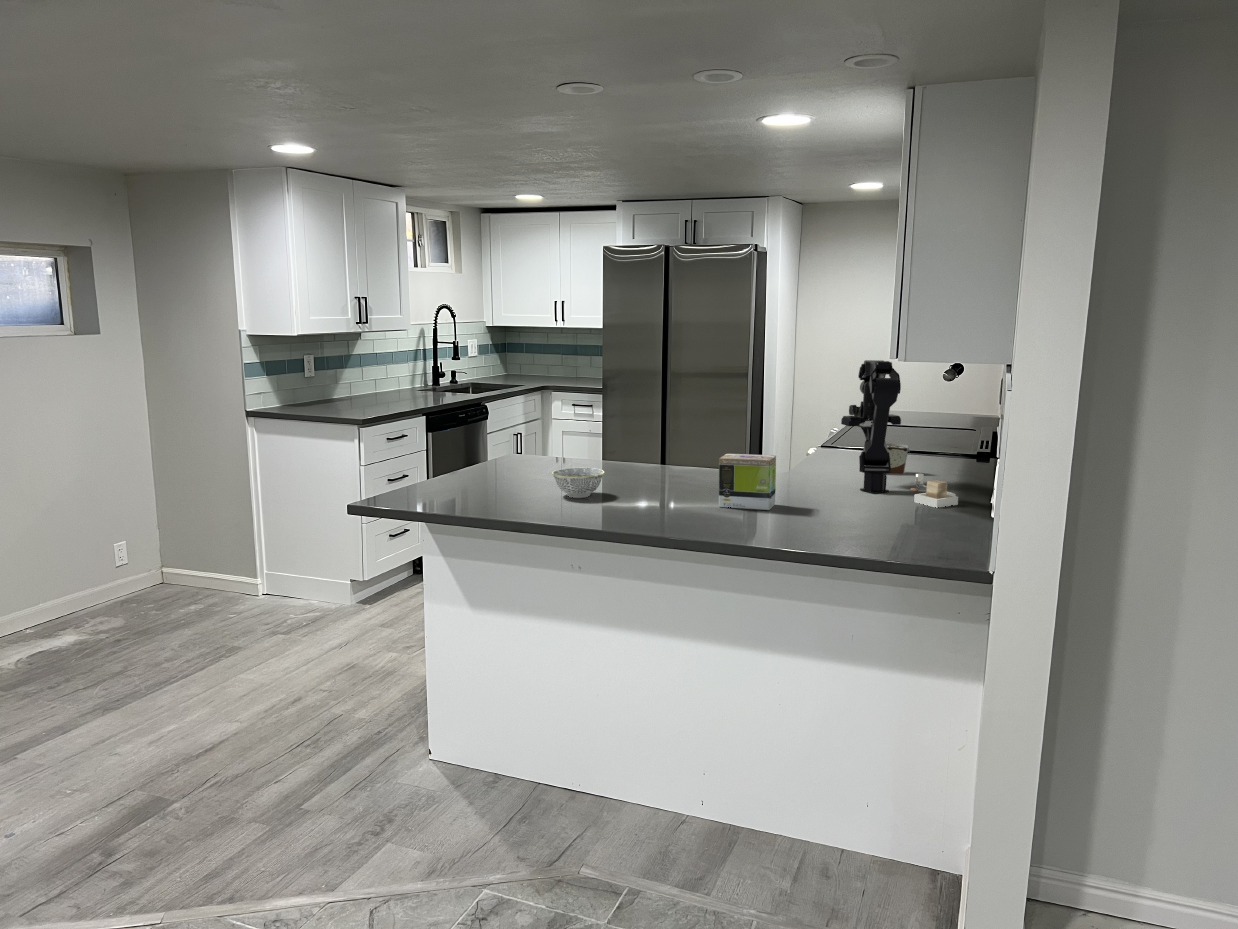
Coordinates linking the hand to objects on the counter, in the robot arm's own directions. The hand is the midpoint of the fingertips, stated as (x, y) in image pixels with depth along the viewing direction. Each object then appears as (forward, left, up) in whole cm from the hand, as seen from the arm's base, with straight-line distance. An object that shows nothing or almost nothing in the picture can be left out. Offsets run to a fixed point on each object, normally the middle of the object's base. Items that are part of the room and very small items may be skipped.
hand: (869, 446), depth 296 cm
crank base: (+4, -24, -12) cm, 27 cm away
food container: (+20, +10, -12) cm, 25 cm away
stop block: (-5, -34, -12) cm, 36 cm away
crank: (+4, -23, -11) cm, 26 cm away
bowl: (-93, +26, -12) cm, 98 cm away
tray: (-5, -34, -12) cm, 36 cm away
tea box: (-56, -10, -12) cm, 59 cm away
